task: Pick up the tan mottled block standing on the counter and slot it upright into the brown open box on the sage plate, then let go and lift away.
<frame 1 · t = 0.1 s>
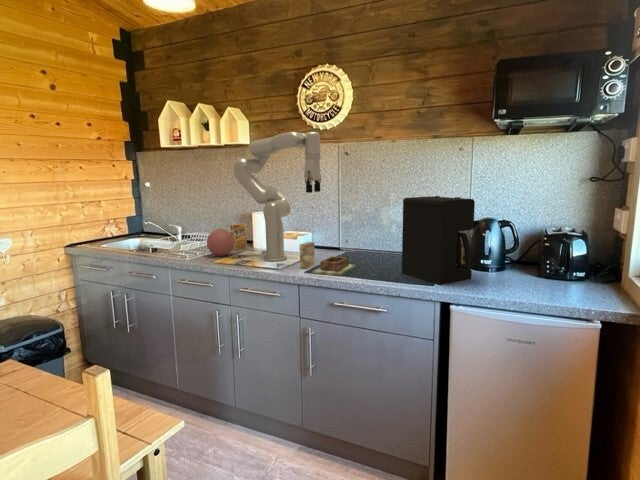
hand: (313, 192, 209), 37 cm above the worktop, tool pointing down, fingers open, 9 cm apart
brown open box: (334, 269, 199), on the worktop
candy box: (239, 248, 258), on the worktop
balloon: (223, 255, 239), on the worktop
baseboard: (179, 249, 263), on the worktop
tan mottled block: (307, 267, 206), on the worktop
coffee maker: (439, 277, 184), on the worktop
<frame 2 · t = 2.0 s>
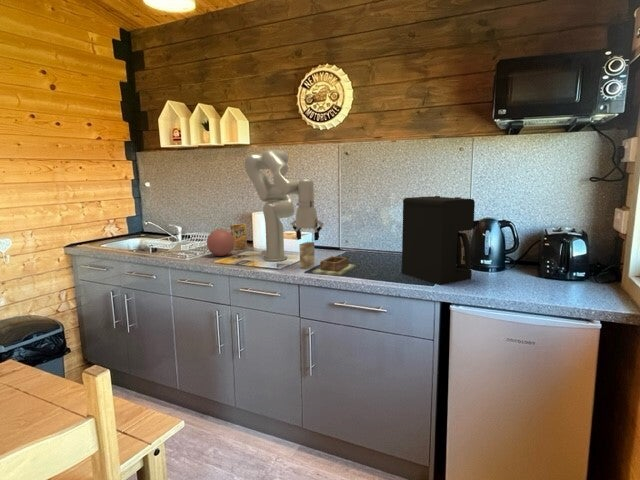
hand: (307, 239, 203), 14 cm above the worktop, tool pointing down, fingers open, 9 cm apart
nothing on the worktop moved.
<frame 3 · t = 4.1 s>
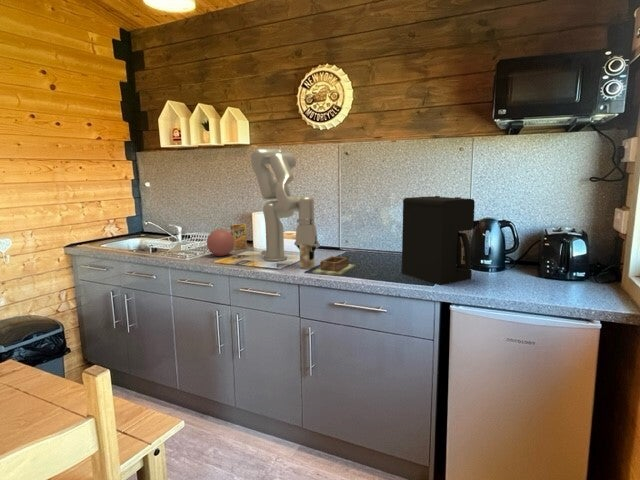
hand: (307, 258, 205), 4 cm above the worktop, tool pointing down, fingers closed on tan mottled block, 4 cm apart
tan mottled block: (307, 267, 206), on the worktop, touching gripper
everything else where it was.
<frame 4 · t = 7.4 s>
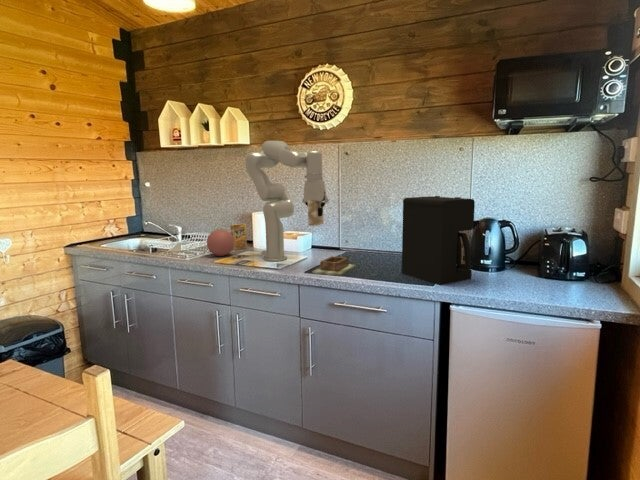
hand: (315, 215, 199), 26 cm above the worktop, tool pointing down, fingers closed on tan mottled block, 4 cm apart
tan mottled block: (316, 224, 200), point 22 cm above the worktop, touching gripper
everything else where it was.
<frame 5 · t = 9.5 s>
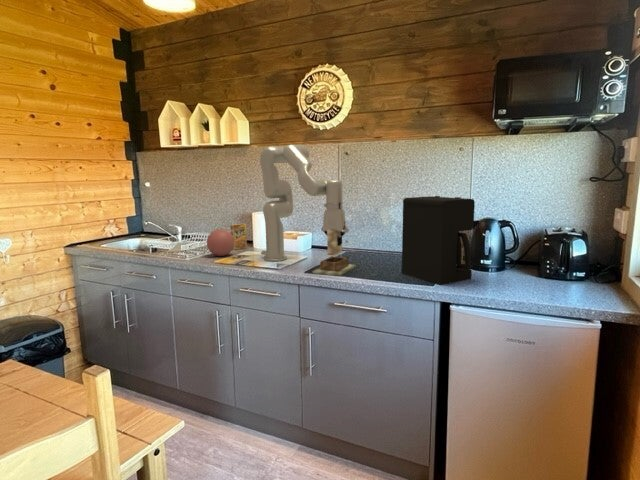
hand: (335, 244, 197), 12 cm above the worktop, tool pointing down, fingers closed on tan mottled block, 4 cm apart
tan mottled block: (335, 253, 198), point 8 cm above the worktop, touching gripper
everything else where it was.
when the fingers open (7 cm above the worktop, at t = 11.1 s): tan mottled block drops 1 cm, resting on brown open box.
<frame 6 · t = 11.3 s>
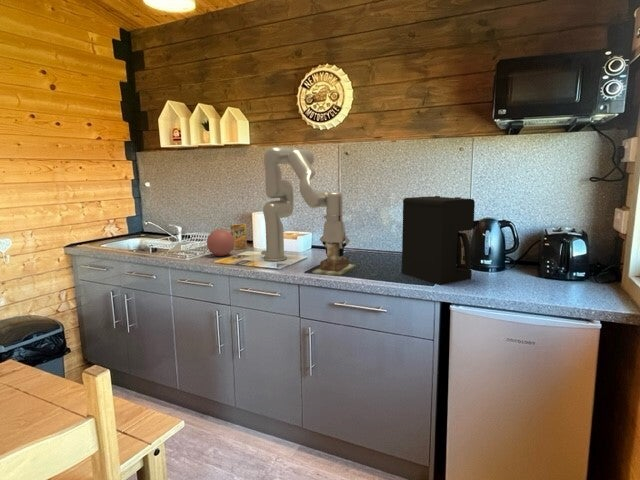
hand: (334, 255, 198), 7 cm above the worktop, tool pointing down, fingers open, 6 cm apart
tan mottled block: (334, 267, 199), point 1 cm above the worktop, touching brown open box
everything else where it was.
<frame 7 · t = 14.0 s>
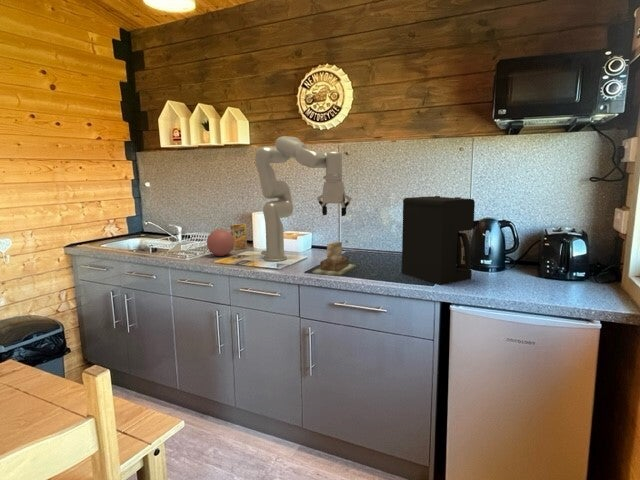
hand: (334, 215, 195), 26 cm above the worktop, tool pointing down, fingers open, 9 cm apart
nothing on the worktop moved.
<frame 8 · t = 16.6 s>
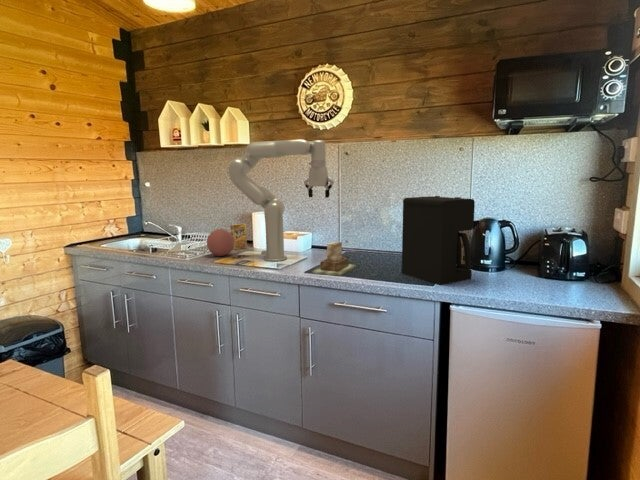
hand: (318, 197, 220), 33 cm above the worktop, tool pointing down, fingers open, 9 cm apart
nothing on the worktop moved.
at the end: tan mottled block 0.1 cm off-centre on the brown open box, point 1.0 cm above the brown open box's base; tan mottled block tilted 0°; the gripper is holding nothing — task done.
